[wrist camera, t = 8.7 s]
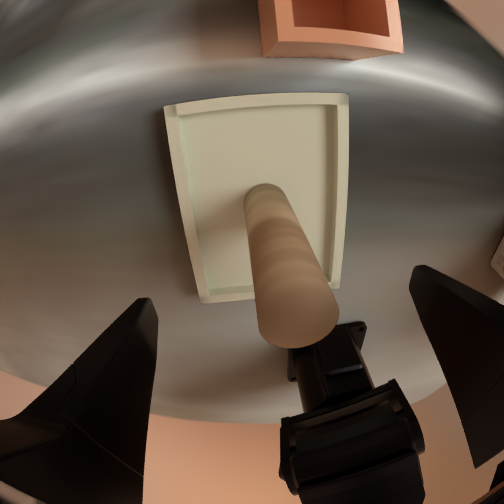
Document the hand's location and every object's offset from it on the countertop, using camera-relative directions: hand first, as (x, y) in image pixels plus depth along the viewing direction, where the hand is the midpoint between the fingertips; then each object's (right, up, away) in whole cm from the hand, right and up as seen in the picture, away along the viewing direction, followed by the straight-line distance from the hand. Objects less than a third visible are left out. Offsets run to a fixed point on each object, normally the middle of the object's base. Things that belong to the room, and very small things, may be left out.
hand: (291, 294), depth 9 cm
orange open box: (+2, +13, +2) cm, 14 cm away
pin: (0, +4, +7) cm, 8 cm away
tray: (-1, +4, +7) cm, 8 cm away
